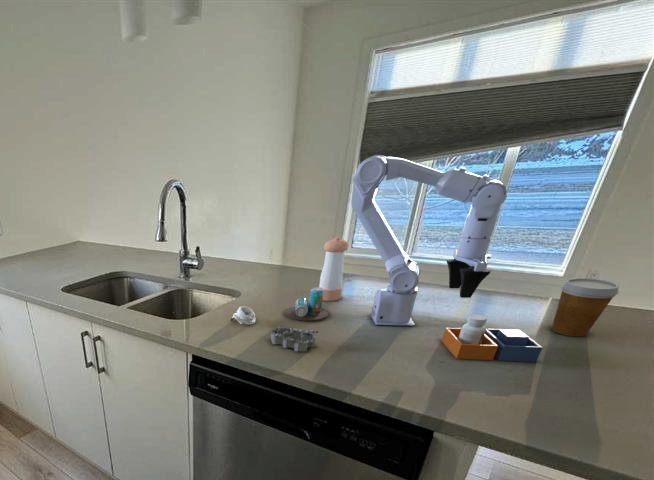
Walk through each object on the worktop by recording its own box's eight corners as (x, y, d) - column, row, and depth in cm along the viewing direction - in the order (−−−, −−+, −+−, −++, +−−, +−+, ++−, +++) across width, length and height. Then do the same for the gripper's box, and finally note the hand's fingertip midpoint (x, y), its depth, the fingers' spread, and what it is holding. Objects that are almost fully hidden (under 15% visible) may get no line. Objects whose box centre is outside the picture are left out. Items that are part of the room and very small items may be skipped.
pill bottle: (482, 352, 93) (494, 320, 89) (460, 351, 94) (471, 320, 90) (473, 344, 97) (484, 313, 93) (452, 343, 97) (462, 313, 94)
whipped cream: (242, 318, 126) (242, 302, 125) (261, 320, 122) (261, 304, 120) (227, 324, 122) (227, 308, 120) (246, 327, 117) (246, 310, 115)
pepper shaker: (344, 300, 130) (354, 238, 121) (321, 301, 131) (330, 240, 121) (335, 293, 137) (344, 234, 127) (313, 294, 137) (321, 236, 127)
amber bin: (456, 358, 92) (461, 344, 91) (441, 340, 100) (445, 327, 99) (492, 360, 90) (498, 346, 89) (474, 341, 99) (479, 328, 97)
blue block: (501, 352, 92) (507, 336, 90) (493, 345, 95) (499, 329, 93) (522, 353, 91) (529, 337, 89) (513, 345, 94) (520, 330, 92)
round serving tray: (328, 322, 116) (332, 295, 112) (284, 320, 120) (287, 294, 116) (326, 308, 126) (330, 282, 122) (286, 306, 129) (288, 282, 125)
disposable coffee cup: (586, 325, 101) (610, 278, 95) (603, 341, 94) (630, 290, 88) (537, 322, 105) (557, 276, 99) (550, 337, 97) (572, 288, 91)
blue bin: (498, 360, 90) (503, 346, 88) (479, 341, 98) (484, 328, 97) (536, 361, 88) (542, 347, 86) (513, 342, 96) (519, 329, 95)
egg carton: (318, 345, 104) (320, 331, 102) (300, 354, 100) (302, 339, 98) (284, 334, 112) (285, 320, 110) (266, 342, 108) (267, 327, 106)
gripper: (511, 242, 88) (490, 301, 95) (483, 230, 100) (467, 283, 107) (472, 243, 91) (455, 301, 97) (450, 231, 102) (436, 284, 109)
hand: (459, 292), depth 102 cm, fingers open, 7 cm apart
